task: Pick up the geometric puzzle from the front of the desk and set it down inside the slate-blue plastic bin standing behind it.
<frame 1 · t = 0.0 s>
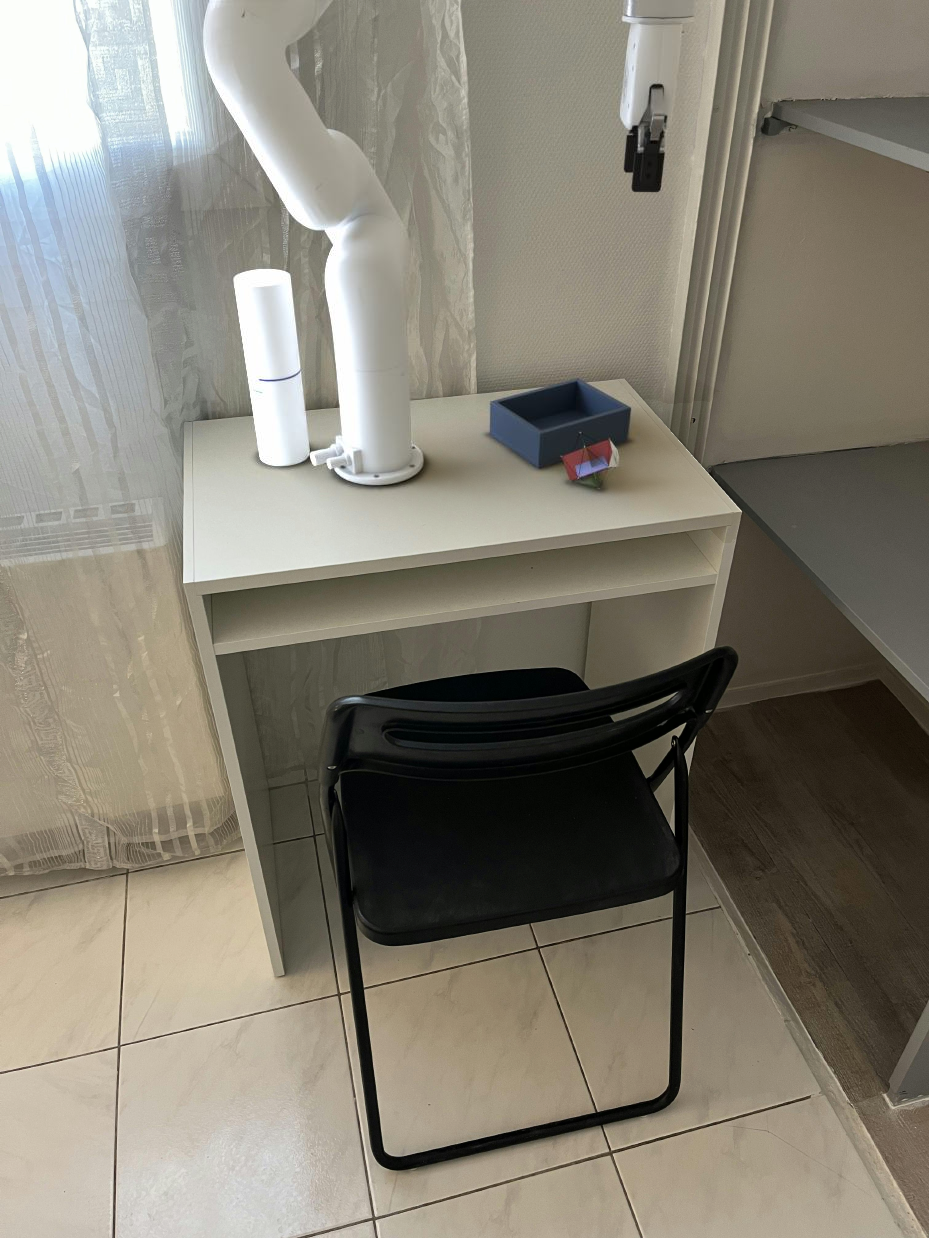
hand: (641, 181, 108), 37 cm above the table, tool pointing down, fingers open, 9 cm apart
geometric puzzle: (587, 483, 128), on the table
cylindrical container: (285, 455, 135), on the table
bin: (558, 437, 138), on the table
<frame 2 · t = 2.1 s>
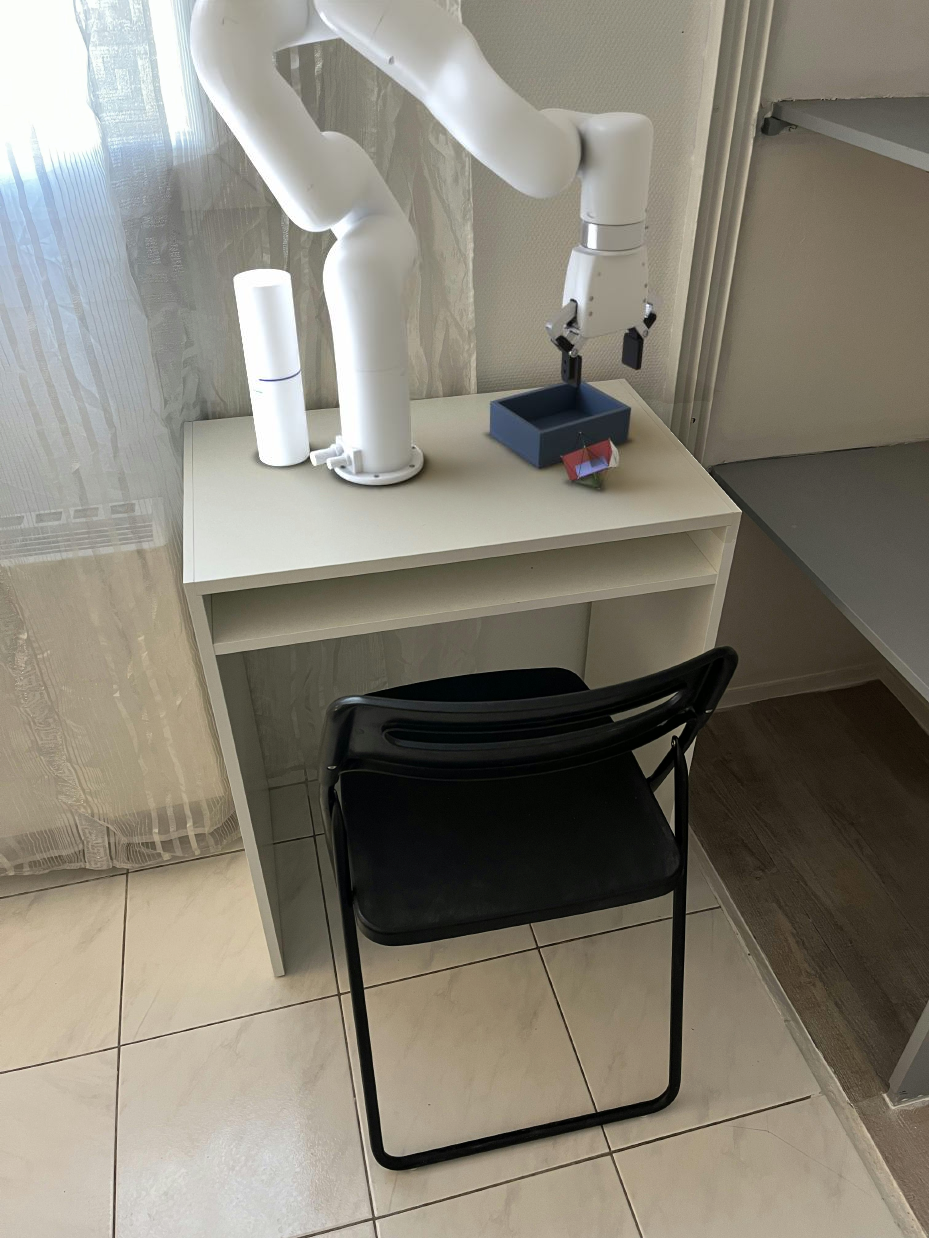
hand: (601, 375, 119), 15 cm above the table, tool pointing down, fingers open, 9 cm apart
nothing on the table moved.
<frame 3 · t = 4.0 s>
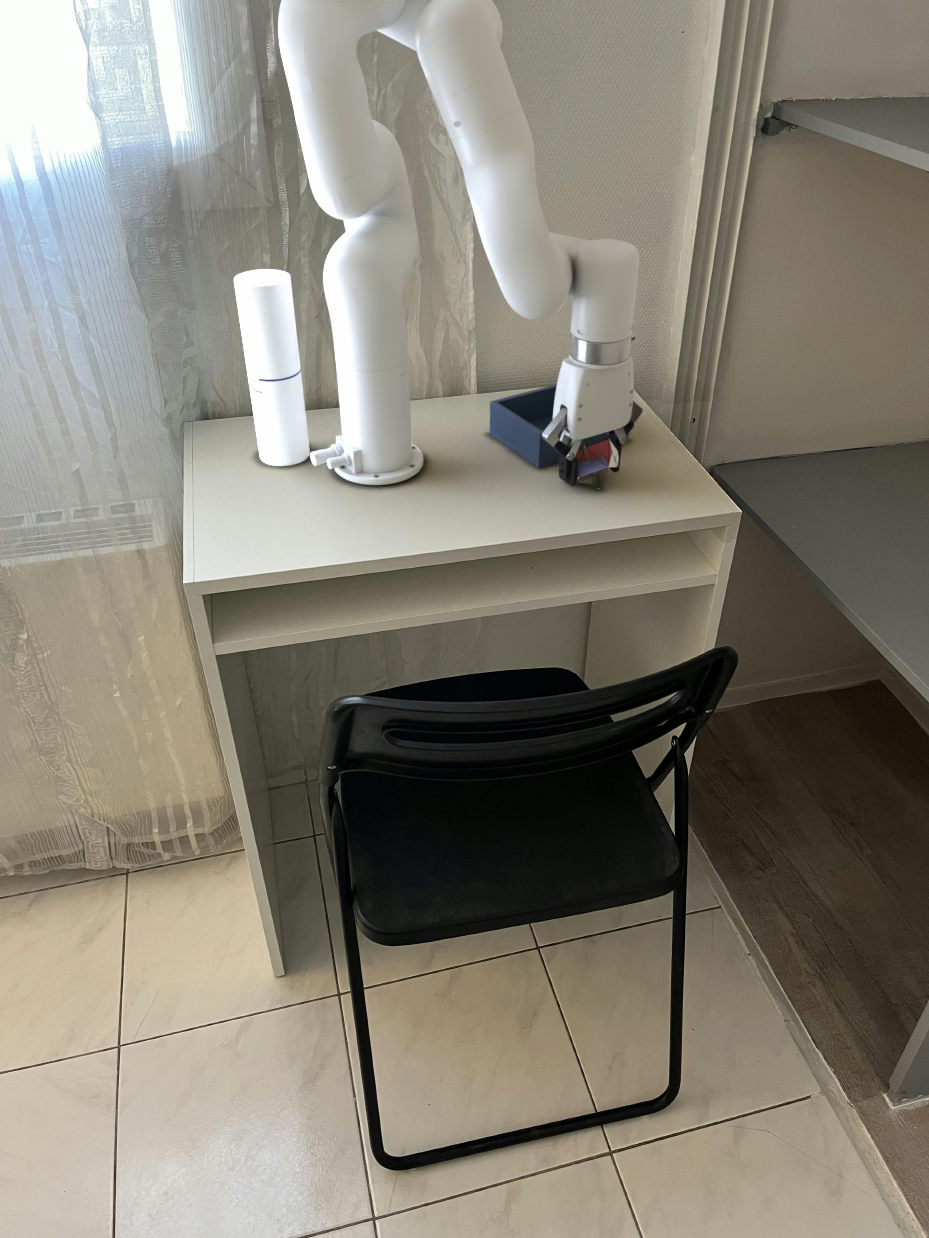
hand: (589, 473, 127), 1 cm above the table, tool pointing down, fingers closed on geometric puzzle, 6 cm apart
geometric puzzle: (587, 483, 128), on the table, touching gripper
everything else where it was.
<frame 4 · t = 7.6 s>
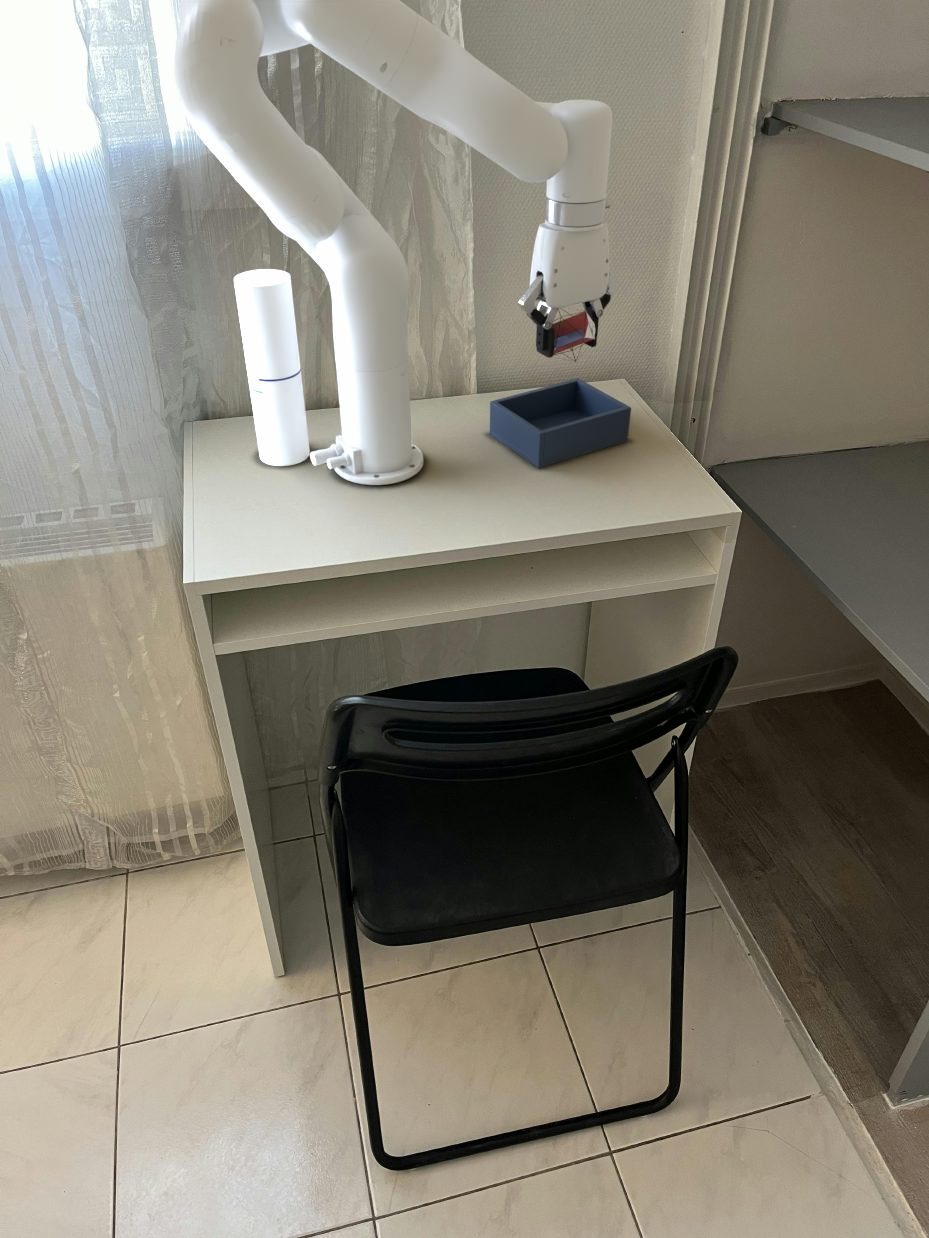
hand: (566, 348, 129), 14 cm above the table, tool pointing down, fingers closed on geometric puzzle, 6 cm apart
geometric puzzle: (565, 358, 130), point 13 cm above the table, touching gripper
everything else where it was.
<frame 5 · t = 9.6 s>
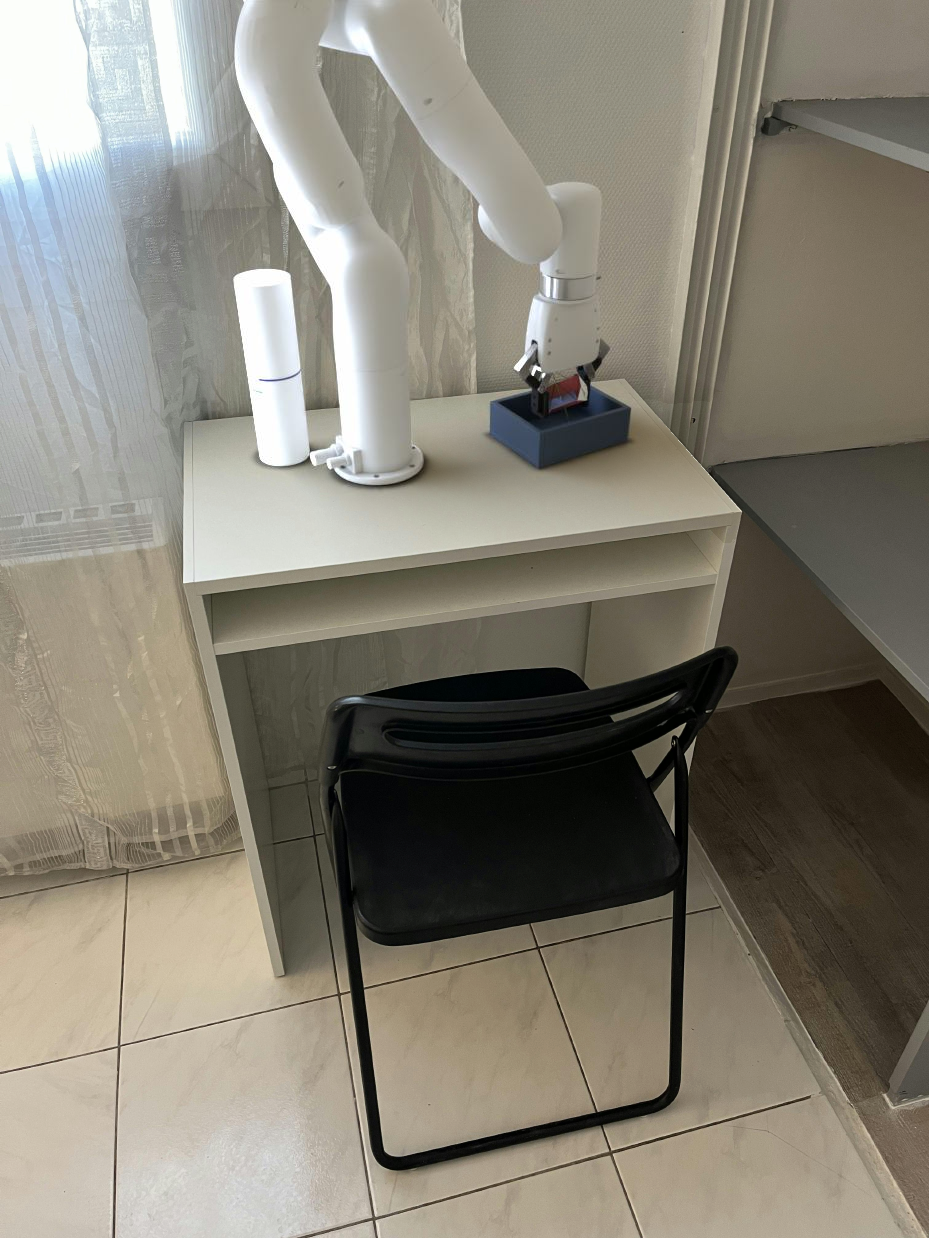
hand: (560, 408, 136), 5 cm above the table, tool pointing down, fingers closed on geometric puzzle, 6 cm apart
geometric puzzle: (559, 417, 137), point 3 cm above the table, touching gripper
everything else where it was.
when the fingers open (2 cm above the table, at t = 11.0 s): geometric puzzle stays where it is, resting on bin.
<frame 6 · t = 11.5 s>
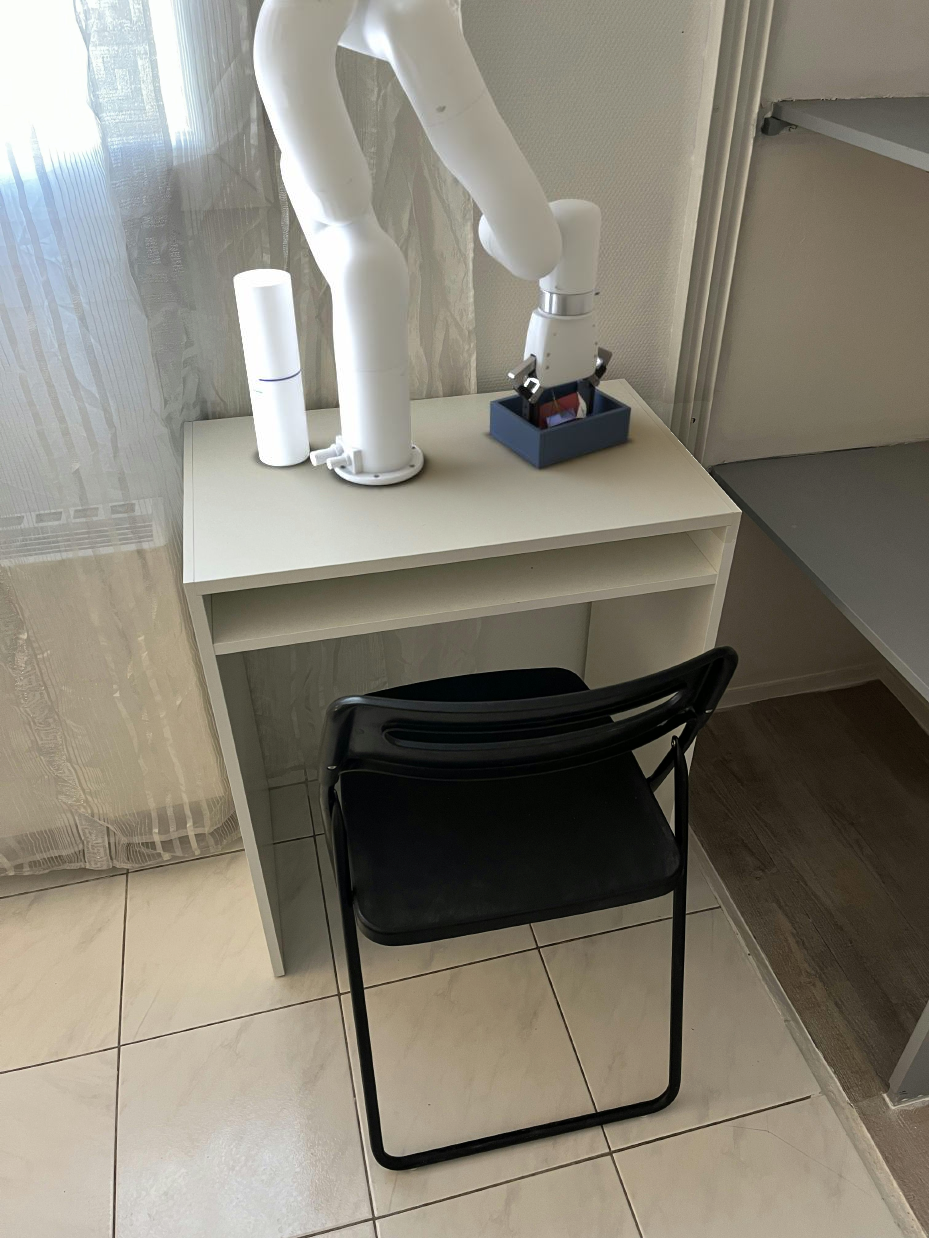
hand: (558, 417, 136), 3 cm above the table, tool pointing down, fingers open, 9 cm apart
geometric puzzle: (558, 434, 138), point 1 cm above the table, touching bin
everything else where it was.
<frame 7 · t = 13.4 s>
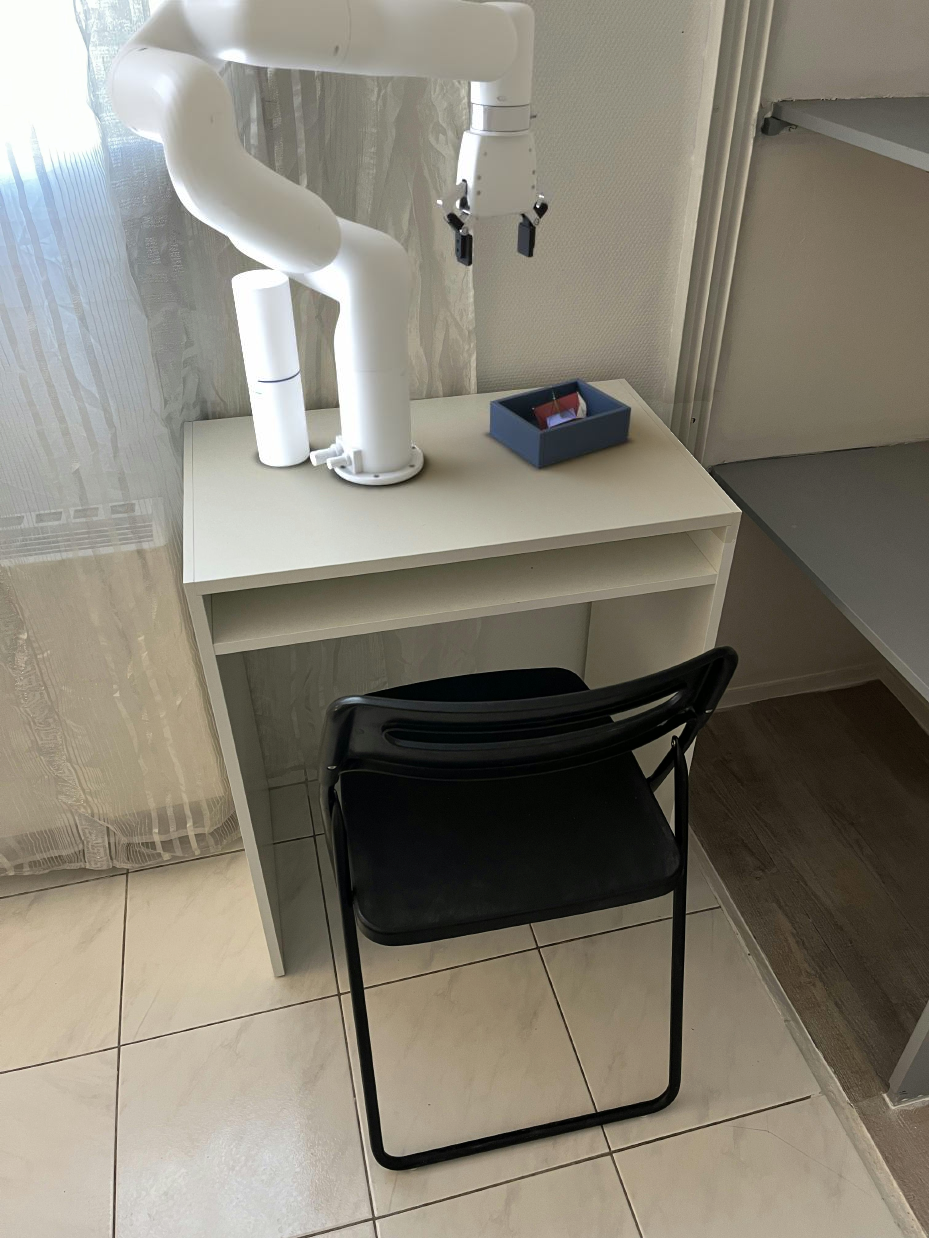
hand: (495, 259, 128), 24 cm above the table, tool pointing down, fingers open, 9 cm apart
cylindrical container: (285, 455, 135), on the table, touching arm
everything else where it was.
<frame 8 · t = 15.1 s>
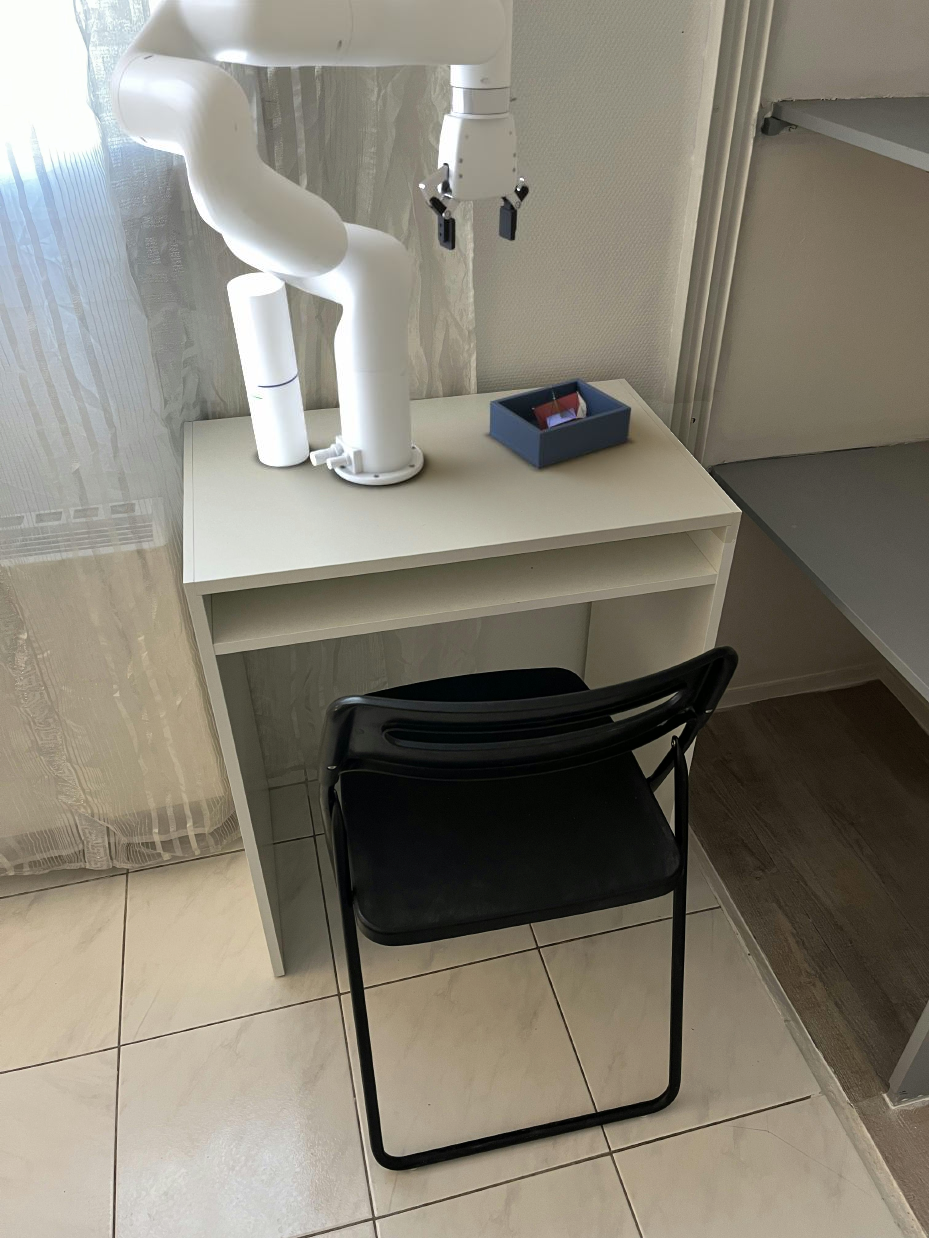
hand: (477, 243, 129), 26 cm above the table, tool pointing down, fingers open, 9 cm apart
at the end: geometric puzzle inside the target area in the bin (0.0 cm from its centre), point 0.6 cm above the bin's base; the gripper is holding nothing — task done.
